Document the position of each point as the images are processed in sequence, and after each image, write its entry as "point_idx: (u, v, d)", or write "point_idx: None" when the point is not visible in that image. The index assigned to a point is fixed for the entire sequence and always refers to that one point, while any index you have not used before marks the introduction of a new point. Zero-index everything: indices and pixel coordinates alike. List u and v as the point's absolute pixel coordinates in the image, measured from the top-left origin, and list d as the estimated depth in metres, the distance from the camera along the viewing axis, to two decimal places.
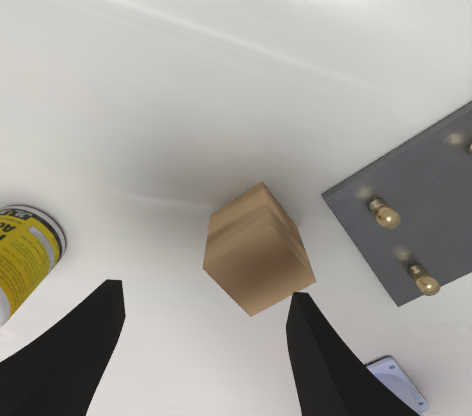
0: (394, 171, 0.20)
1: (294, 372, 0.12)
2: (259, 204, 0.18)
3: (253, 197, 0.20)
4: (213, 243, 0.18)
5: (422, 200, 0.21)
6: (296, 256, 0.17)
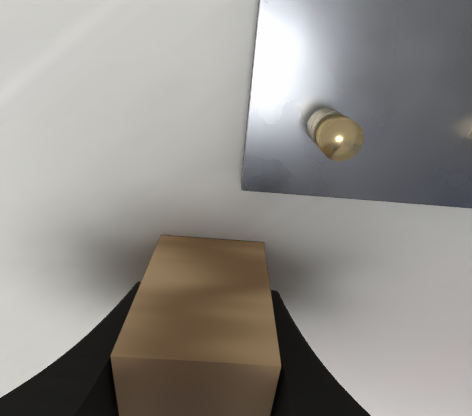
0: (283, 57, 0.10)
1: None
2: None
3: None
4: None
5: (386, 43, 0.09)
6: (205, 357, 0.08)
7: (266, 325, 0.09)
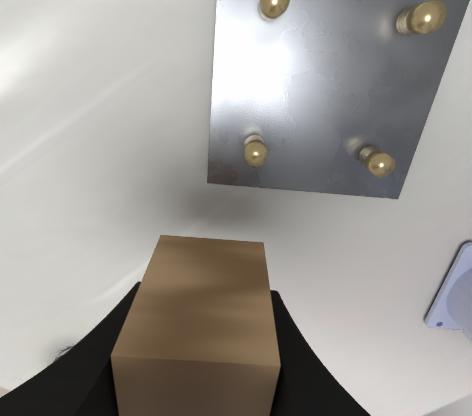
0: (227, 107, 0.17)
1: None
2: None
3: None
4: None
5: (284, 100, 0.17)
6: (205, 357, 0.08)
7: (266, 325, 0.09)
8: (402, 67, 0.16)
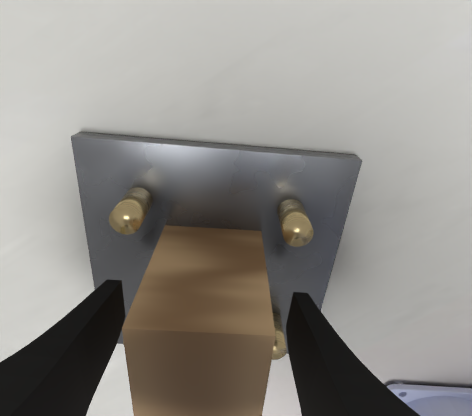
0: None
1: (294, 372, 0.12)
2: None
3: None
4: None
5: None
6: (207, 328, 0.09)
7: (262, 302, 0.10)
8: (291, 248, 0.15)
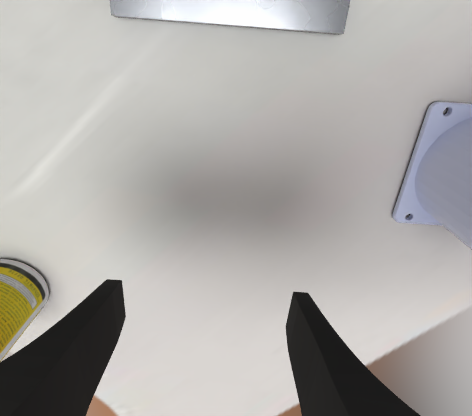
0: None
1: (294, 372, 0.12)
2: None
3: None
4: None
5: None
6: None
7: None
8: None
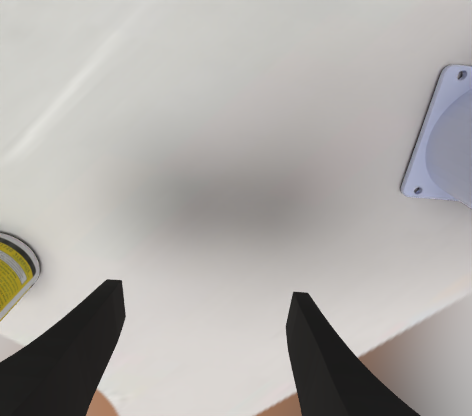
0: None
1: (294, 372, 0.12)
2: None
3: None
4: None
5: None
6: None
7: None
8: None
